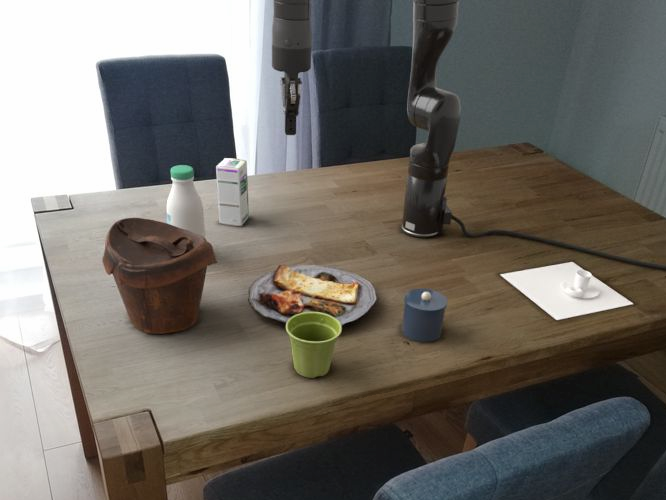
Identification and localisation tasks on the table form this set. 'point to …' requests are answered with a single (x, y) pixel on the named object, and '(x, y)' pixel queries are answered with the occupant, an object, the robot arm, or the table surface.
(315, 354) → the plant pot
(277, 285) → the food plate
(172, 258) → the brown covered bucket
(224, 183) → the syrup box
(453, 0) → the robot arm
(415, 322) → the sugar pot
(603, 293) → the teacup and saucer
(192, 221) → the milk bottle
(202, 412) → the table surface
